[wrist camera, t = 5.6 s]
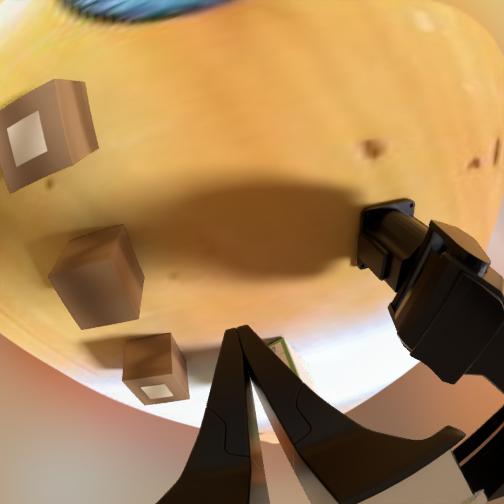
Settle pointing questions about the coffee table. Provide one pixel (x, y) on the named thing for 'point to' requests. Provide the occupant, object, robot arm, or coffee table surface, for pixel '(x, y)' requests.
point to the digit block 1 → (45, 132)
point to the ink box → (292, 361)
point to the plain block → (99, 279)
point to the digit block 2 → (155, 370)
